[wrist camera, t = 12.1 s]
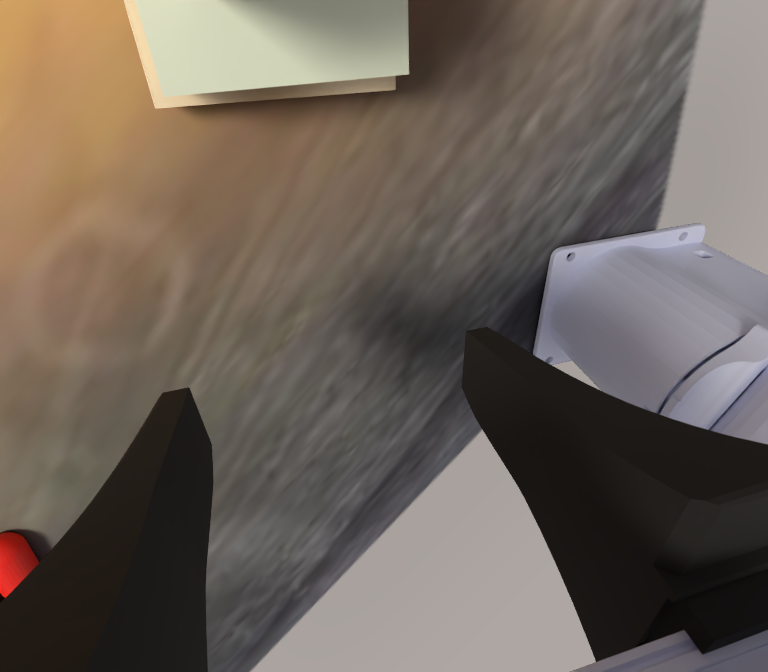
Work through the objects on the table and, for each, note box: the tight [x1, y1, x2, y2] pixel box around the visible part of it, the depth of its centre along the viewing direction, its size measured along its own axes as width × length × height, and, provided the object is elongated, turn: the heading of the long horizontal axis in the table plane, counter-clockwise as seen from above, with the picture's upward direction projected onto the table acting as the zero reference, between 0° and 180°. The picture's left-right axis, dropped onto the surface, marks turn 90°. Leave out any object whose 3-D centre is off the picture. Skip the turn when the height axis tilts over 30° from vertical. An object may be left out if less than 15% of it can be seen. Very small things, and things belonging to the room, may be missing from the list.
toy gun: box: [0, 532, 39, 603], centre depth 26 cm, size 10×12×5 cm
